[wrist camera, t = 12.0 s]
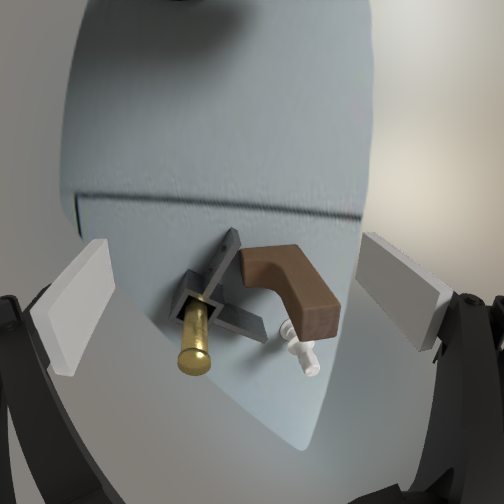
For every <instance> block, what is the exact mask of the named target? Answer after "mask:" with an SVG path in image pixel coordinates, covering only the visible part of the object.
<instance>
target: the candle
mask: <svg viewBox="0 0 504 504" xmlns="http://www.w3.org/2000/svg"><path fill="white" fill-rule="evenodd" d="M280 333H281V336H282V337H283V338H284V339H286V340H289V341H290V342H289V343H288V351H289V352H290V353H291V354H293V355H297V356H298V359H299V363H300V365H301V367H302V369H303V371H304V374H305V375H306V376H309V377H312V376H314V375H316V374H317V373H318V372H319V369H320V366H319V363H318V361H317V357H316V356H315V355H314V354H313V351H312V348H313V346H314V343H315V341H308V342H300V341H299V339H298V337H297V335H296V332H295V330H294V327H293V325H292V323H291V320H290V319H288V320H287V321H285V322H284V323H283V325H282V326H281V329H280Z"/></svg>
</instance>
